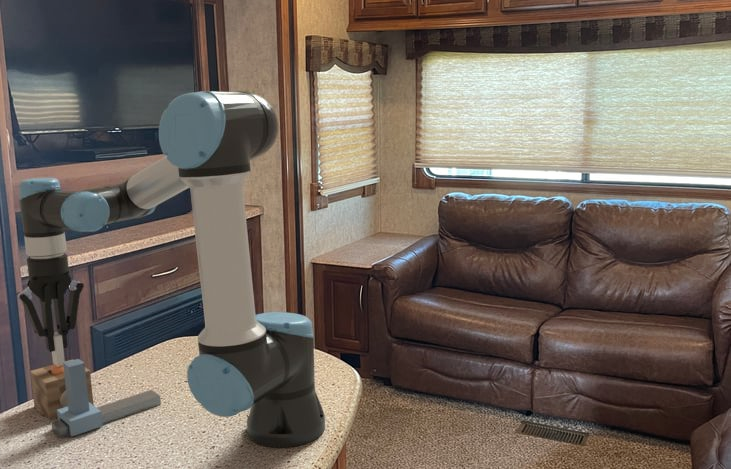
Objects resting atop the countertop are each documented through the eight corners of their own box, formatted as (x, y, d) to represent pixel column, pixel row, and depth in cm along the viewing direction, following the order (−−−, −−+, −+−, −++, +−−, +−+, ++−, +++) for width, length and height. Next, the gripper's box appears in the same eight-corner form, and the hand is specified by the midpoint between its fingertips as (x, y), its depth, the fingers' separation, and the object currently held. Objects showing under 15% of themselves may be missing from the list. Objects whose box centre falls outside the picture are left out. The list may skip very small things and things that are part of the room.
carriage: (102, 426, 137) (96, 363, 134) (72, 436, 133) (65, 372, 130) (88, 414, 142) (82, 354, 139) (58, 424, 138) (51, 362, 135)
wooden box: (94, 406, 146) (91, 371, 145) (51, 421, 140) (46, 384, 139) (76, 393, 153) (73, 359, 152) (34, 406, 147) (30, 370, 146)
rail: (160, 404, 147) (160, 395, 147) (60, 438, 133) (58, 429, 133) (152, 398, 150) (151, 389, 150) (52, 431, 136) (51, 422, 135)
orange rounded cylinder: (71, 379, 146) (70, 365, 145) (56, 383, 144) (54, 369, 143) (65, 375, 148) (64, 361, 147) (50, 379, 146) (48, 365, 145)
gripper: (72, 246, 147) (82, 351, 152) (6, 257, 139) (20, 368, 143) (86, 252, 142) (97, 360, 147) (19, 263, 133) (32, 378, 138)
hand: (59, 364), depth 145 cm, fingers closed
